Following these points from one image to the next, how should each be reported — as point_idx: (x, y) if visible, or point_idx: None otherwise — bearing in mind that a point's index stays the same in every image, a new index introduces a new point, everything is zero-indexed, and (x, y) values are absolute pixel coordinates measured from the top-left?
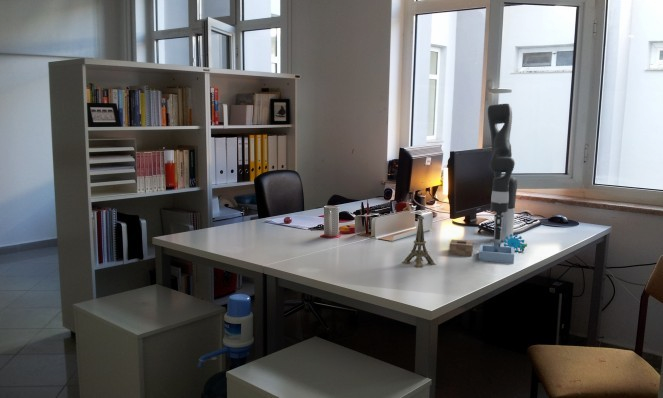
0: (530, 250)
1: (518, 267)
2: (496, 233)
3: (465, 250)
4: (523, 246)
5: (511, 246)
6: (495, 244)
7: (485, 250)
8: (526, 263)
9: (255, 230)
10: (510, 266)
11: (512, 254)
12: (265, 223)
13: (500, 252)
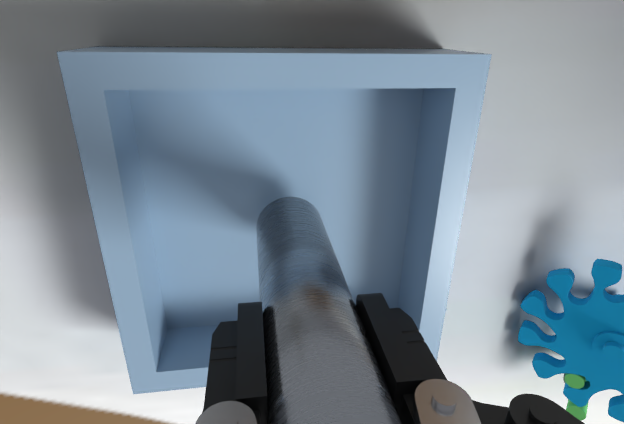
0: None
1: (33, 373)
2: (208, 390)
3: None
4: (564, 387)
5: (571, 315)
6: (262, 262)
7: (426, 109)
8: (196, 402)
9: None
10: (27, 325)
11: (130, 381)
12: None
13: (406, 241)
